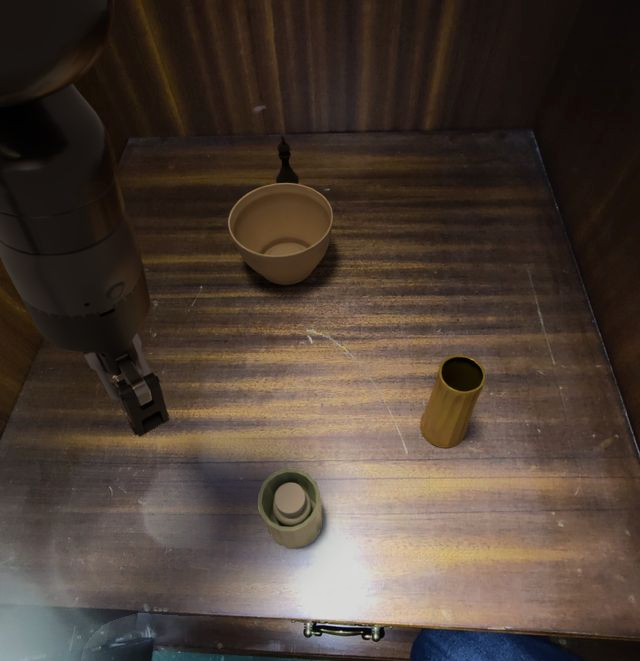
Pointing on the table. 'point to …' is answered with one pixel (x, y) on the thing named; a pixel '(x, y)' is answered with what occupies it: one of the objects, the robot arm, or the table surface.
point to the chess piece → (285, 165)
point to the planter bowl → (282, 230)
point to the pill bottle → (291, 505)
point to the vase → (452, 400)
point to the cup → (298, 533)
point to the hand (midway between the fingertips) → (123, 389)
